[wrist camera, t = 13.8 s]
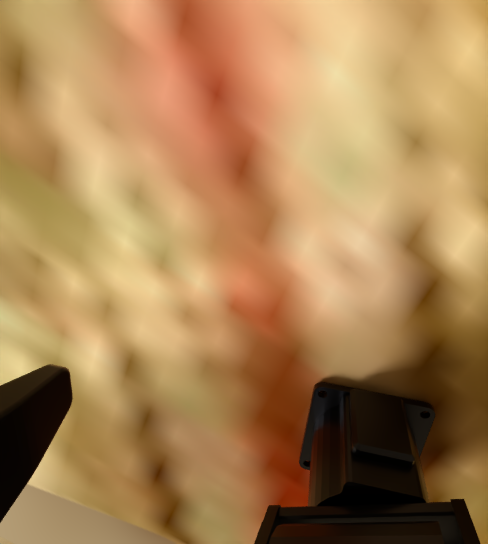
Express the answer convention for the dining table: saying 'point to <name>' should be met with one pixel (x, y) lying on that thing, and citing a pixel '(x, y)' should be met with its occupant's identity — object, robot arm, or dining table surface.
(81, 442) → the dining table surface
